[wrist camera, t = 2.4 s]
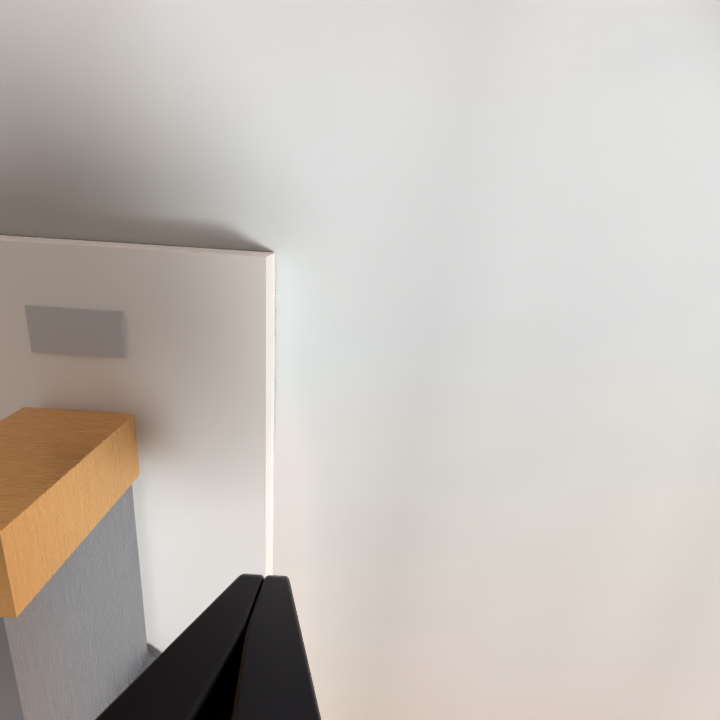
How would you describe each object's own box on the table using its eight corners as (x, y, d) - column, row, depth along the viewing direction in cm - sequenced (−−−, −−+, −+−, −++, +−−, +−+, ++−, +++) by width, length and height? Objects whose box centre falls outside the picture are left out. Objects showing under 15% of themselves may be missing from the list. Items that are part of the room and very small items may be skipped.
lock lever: (192, 756, 14) (123, 967, 10) (51, 747, 14) (-72, 955, 10) (171, 416, 10) (57, 536, 7) (-13, 404, 11) (-231, 517, 7)
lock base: (271, 841, 17) (264, 883, 16) (-132, 814, 17) (-166, 855, 16) (275, 252, 11) (265, 257, 10) (-356, 212, 11) (-435, 213, 10)
